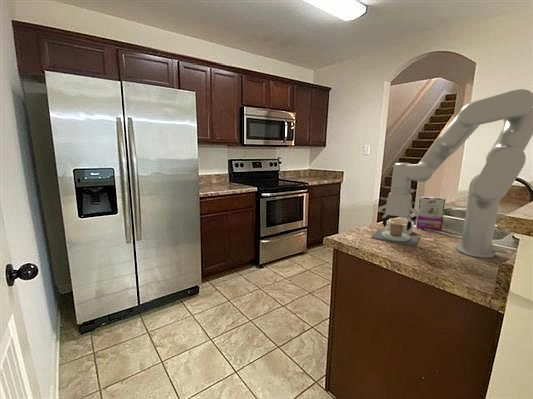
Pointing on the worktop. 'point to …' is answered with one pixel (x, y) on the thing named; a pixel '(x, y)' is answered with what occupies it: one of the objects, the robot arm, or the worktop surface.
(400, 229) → the lid
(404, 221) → the bowl
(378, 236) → the mat
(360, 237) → the worktop surface
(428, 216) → the candy bar box
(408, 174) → the robot arm
